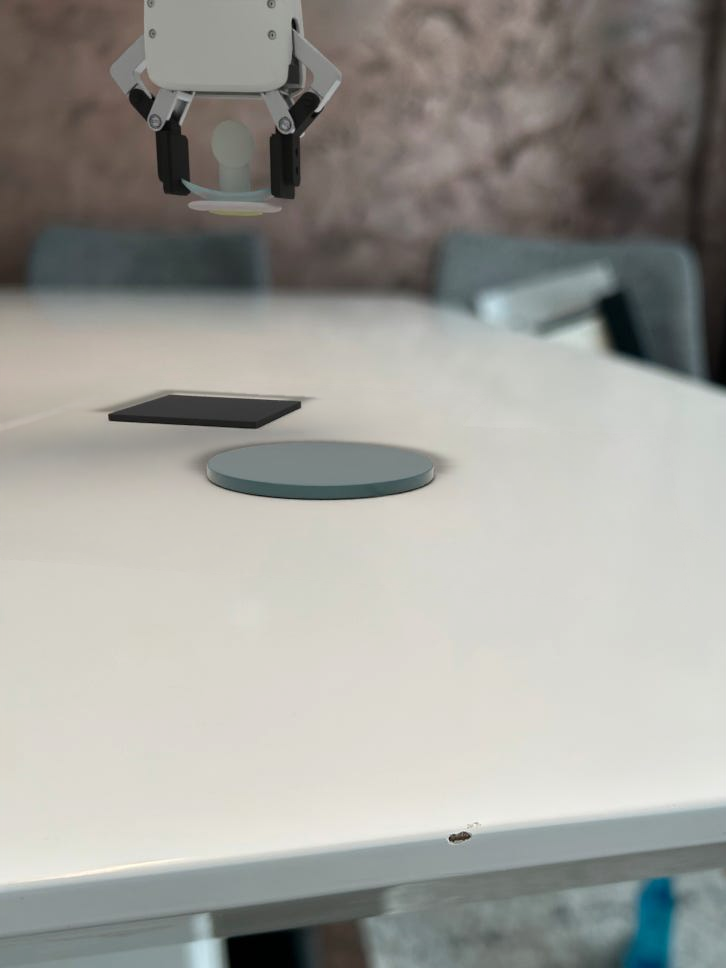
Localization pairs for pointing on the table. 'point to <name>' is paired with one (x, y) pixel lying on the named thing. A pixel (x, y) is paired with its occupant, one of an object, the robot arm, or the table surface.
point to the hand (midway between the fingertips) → (229, 194)
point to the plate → (320, 470)
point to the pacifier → (233, 175)
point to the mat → (207, 411)
